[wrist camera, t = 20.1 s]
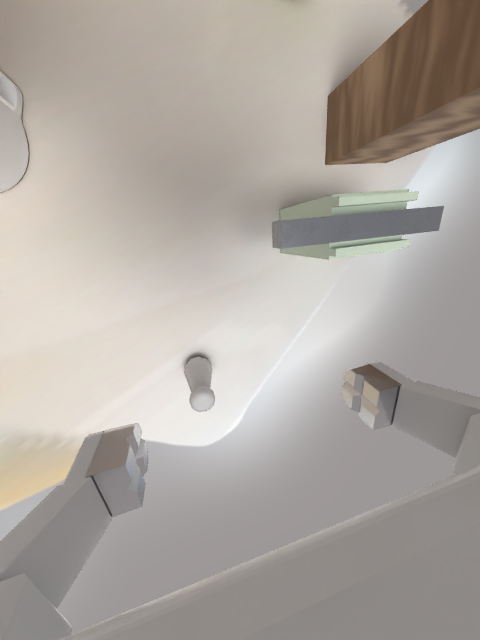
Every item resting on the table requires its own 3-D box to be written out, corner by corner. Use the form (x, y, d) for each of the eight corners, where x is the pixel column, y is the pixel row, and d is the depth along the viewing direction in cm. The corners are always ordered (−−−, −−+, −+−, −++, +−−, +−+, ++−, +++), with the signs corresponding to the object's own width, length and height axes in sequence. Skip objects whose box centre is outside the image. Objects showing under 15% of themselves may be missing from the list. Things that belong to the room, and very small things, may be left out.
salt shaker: (210, 351, 49) (220, 387, 37) (211, 373, 51) (220, 414, 39) (182, 354, 47) (184, 392, 36) (184, 377, 49) (186, 420, 37)
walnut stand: (325, 164, 42) (537, 57, 17) (328, 96, 38) (602, -166, 13) (386, 162, 45) (644, 68, 20) (394, 98, 41) (722, -114, 16)
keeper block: (280, 252, 45) (335, 260, 30) (279, 209, 42) (339, 192, 27) (332, 246, 48) (408, 250, 32) (334, 205, 45) (419, 187, 29)
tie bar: (272, 247, 28) (282, 248, 26) (271, 222, 27) (282, 220, 24) (417, 231, 33) (438, 230, 30) (421, 208, 32) (443, 206, 29)
